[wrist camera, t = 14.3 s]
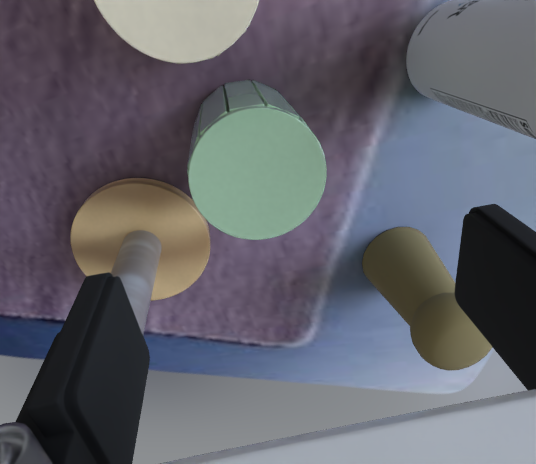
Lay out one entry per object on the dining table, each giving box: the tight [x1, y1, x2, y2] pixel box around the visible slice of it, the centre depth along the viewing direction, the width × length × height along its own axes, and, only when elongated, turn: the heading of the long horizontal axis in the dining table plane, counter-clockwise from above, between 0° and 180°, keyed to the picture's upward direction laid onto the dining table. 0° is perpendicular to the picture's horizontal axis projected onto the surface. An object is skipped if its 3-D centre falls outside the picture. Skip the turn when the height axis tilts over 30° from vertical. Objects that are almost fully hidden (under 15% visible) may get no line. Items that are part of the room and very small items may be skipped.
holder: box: [70, 178, 210, 334], centre depth 25 cm, size 10×10×14 cm
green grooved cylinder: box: [187, 80, 326, 240], centre depth 24 cm, size 7×7×9 cm
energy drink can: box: [406, 0, 536, 139], centre depth 21 cm, size 6×6×15 cm
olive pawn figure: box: [362, 227, 492, 370], centre depth 30 cm, size 6×6×11 cm
